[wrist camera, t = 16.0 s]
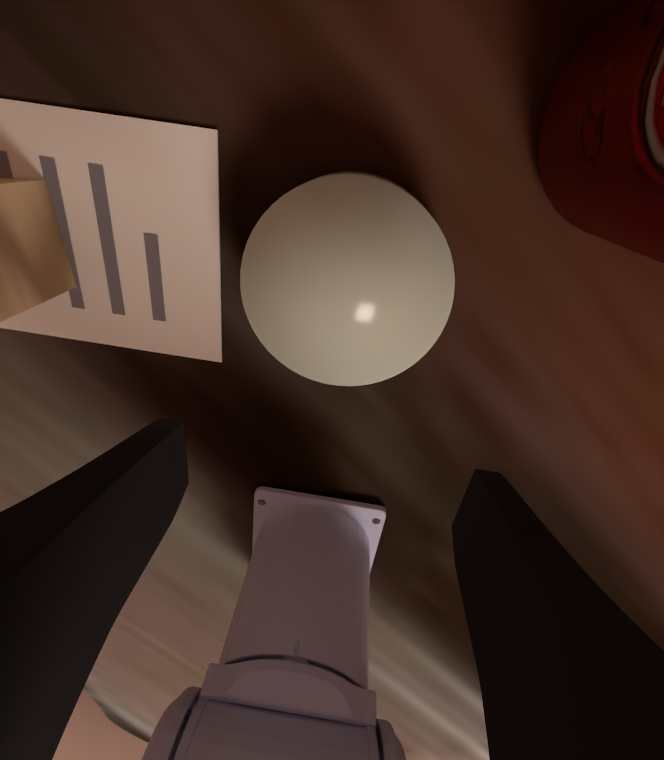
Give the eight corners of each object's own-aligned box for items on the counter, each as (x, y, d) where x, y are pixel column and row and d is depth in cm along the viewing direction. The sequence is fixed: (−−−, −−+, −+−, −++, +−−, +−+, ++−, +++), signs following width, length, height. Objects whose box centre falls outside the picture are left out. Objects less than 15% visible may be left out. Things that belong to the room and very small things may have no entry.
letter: (222, 361, 20) (221, 363, 20) (-46, 319, 20) (-49, 320, 20) (218, 130, 15) (216, 129, 15) (-140, 78, 15) (-144, 77, 15)
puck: (421, 364, 19) (428, 397, 17) (259, 343, 20) (242, 373, 17) (464, 182, 15) (482, 189, 13) (260, 159, 16) (237, 162, 13)
